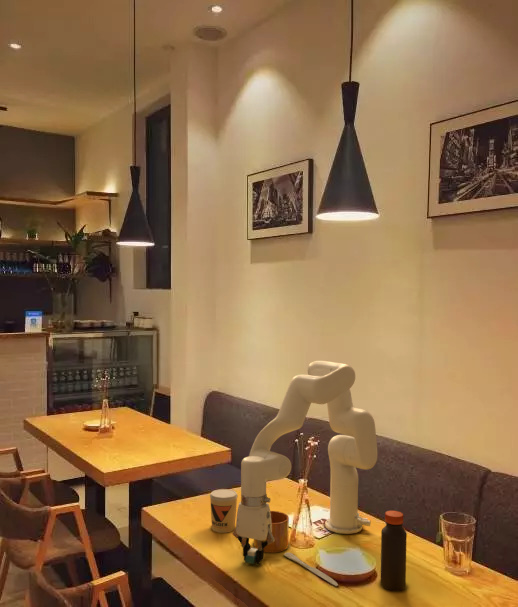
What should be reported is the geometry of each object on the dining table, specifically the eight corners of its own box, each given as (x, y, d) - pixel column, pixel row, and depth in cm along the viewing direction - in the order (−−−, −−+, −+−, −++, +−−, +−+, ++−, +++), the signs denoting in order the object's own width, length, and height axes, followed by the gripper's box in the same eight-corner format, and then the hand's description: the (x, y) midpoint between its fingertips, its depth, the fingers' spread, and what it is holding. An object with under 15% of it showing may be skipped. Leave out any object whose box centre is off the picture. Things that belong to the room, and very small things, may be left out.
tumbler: (291, 540, 194) (292, 513, 194) (283, 554, 183) (284, 525, 183) (259, 536, 197) (259, 509, 197) (249, 549, 187) (249, 521, 186)
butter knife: (290, 551, 184) (282, 553, 183) (341, 583, 164) (333, 586, 163) (290, 552, 184) (282, 554, 183) (341, 585, 164) (333, 587, 163)
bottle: (376, 587, 164) (378, 514, 164) (385, 577, 170) (386, 507, 169) (400, 594, 160) (402, 520, 160) (408, 583, 166) (410, 512, 166)
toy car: (254, 565, 174) (254, 554, 174) (244, 563, 176) (244, 552, 176) (262, 557, 180) (262, 547, 179) (252, 555, 181) (252, 545, 181)
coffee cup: (204, 531, 200) (205, 495, 200) (216, 521, 209) (216, 487, 209) (230, 535, 197) (231, 499, 197) (241, 525, 206) (241, 490, 206)
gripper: (284, 499, 177) (283, 560, 178) (234, 491, 184) (234, 550, 184) (274, 507, 170) (273, 571, 171) (223, 499, 177) (222, 560, 178)
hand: (253, 559), depth 178 cm, fingers closed on toy car, 3 cm apart
